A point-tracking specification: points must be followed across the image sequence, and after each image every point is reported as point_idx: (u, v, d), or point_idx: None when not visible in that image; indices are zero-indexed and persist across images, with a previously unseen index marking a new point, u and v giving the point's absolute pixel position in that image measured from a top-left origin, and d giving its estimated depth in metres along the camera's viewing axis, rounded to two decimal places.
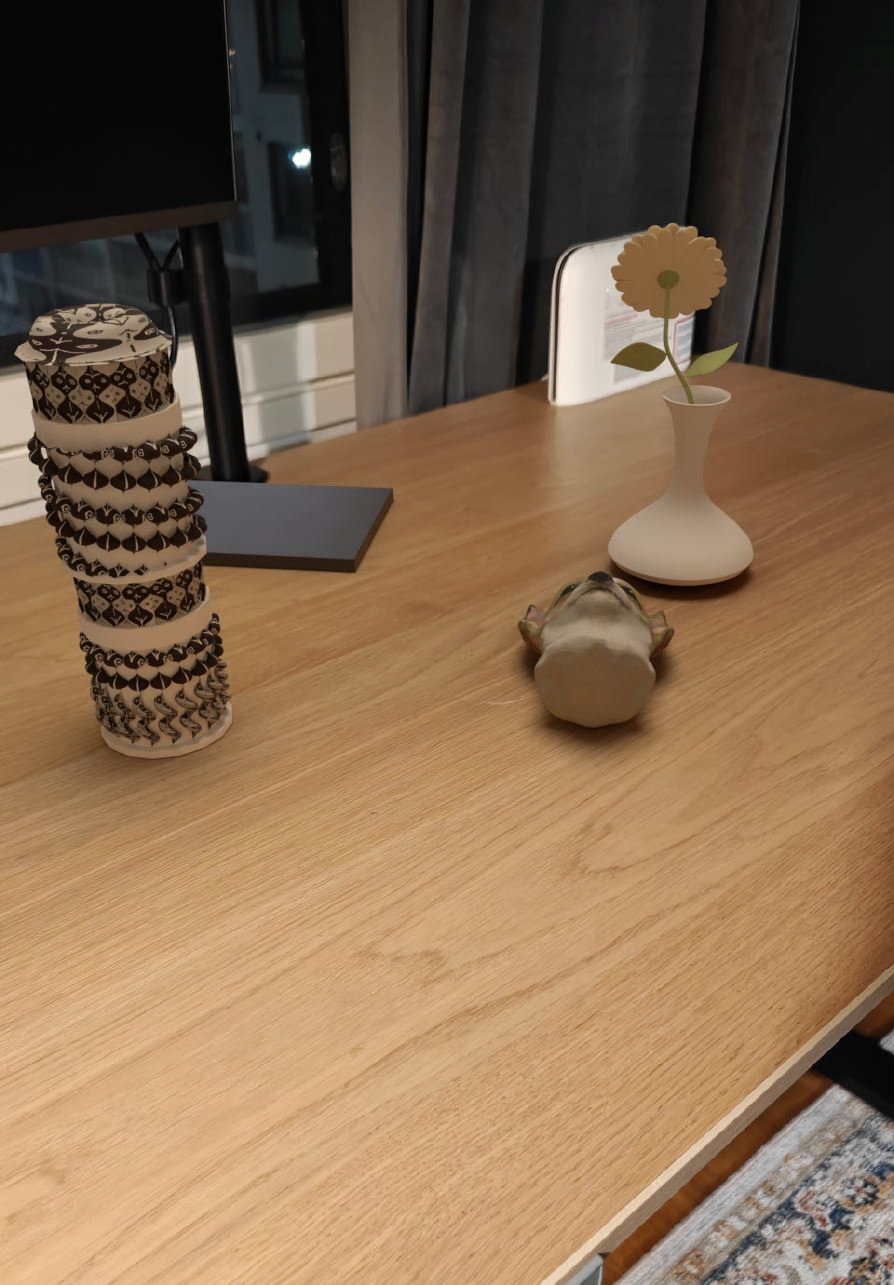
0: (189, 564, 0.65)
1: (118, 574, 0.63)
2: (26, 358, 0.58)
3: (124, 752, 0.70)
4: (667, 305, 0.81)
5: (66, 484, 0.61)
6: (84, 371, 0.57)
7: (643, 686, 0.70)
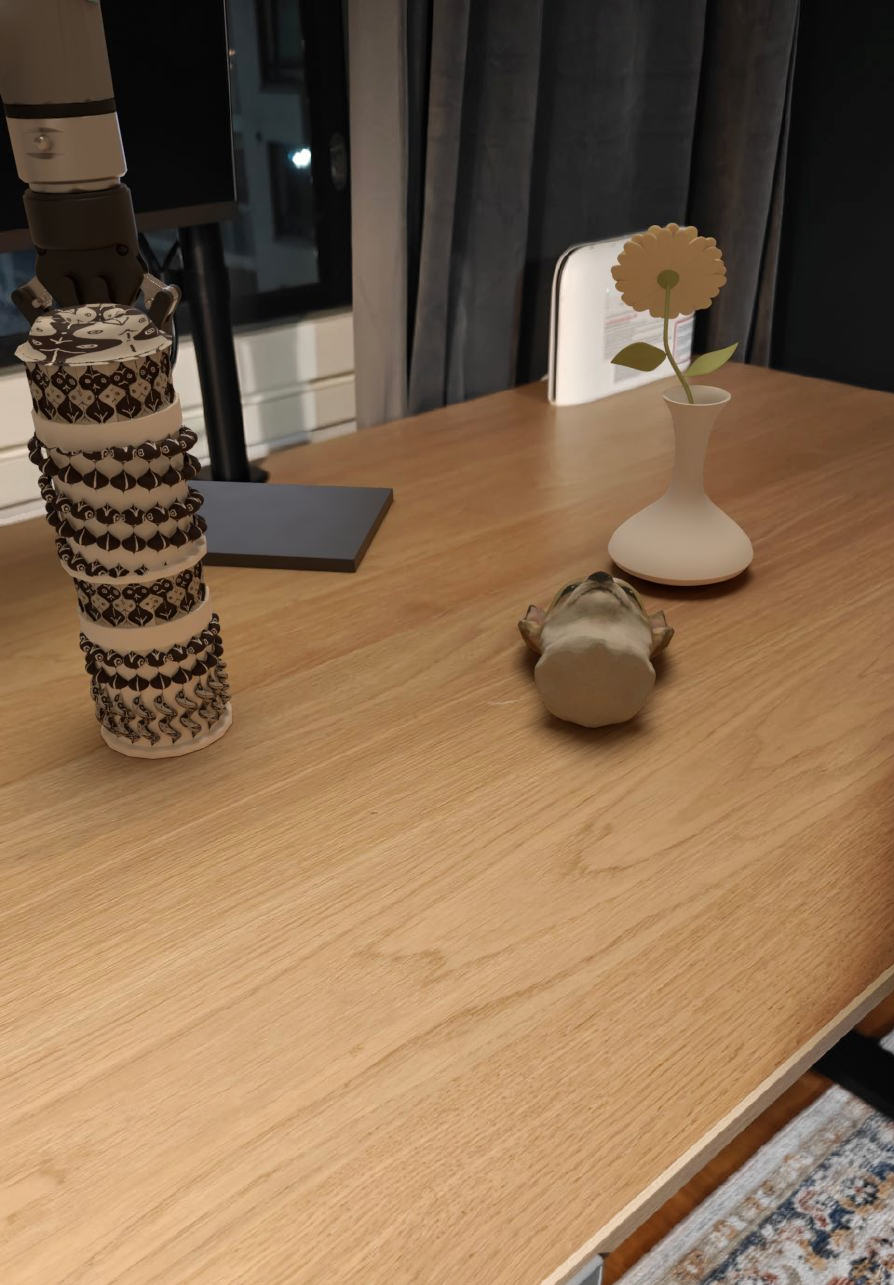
0: (189, 564, 0.65)
1: (118, 574, 0.63)
2: (26, 358, 0.58)
3: (124, 752, 0.70)
4: (667, 305, 0.81)
5: (66, 484, 0.61)
6: (84, 371, 0.57)
7: (643, 686, 0.70)
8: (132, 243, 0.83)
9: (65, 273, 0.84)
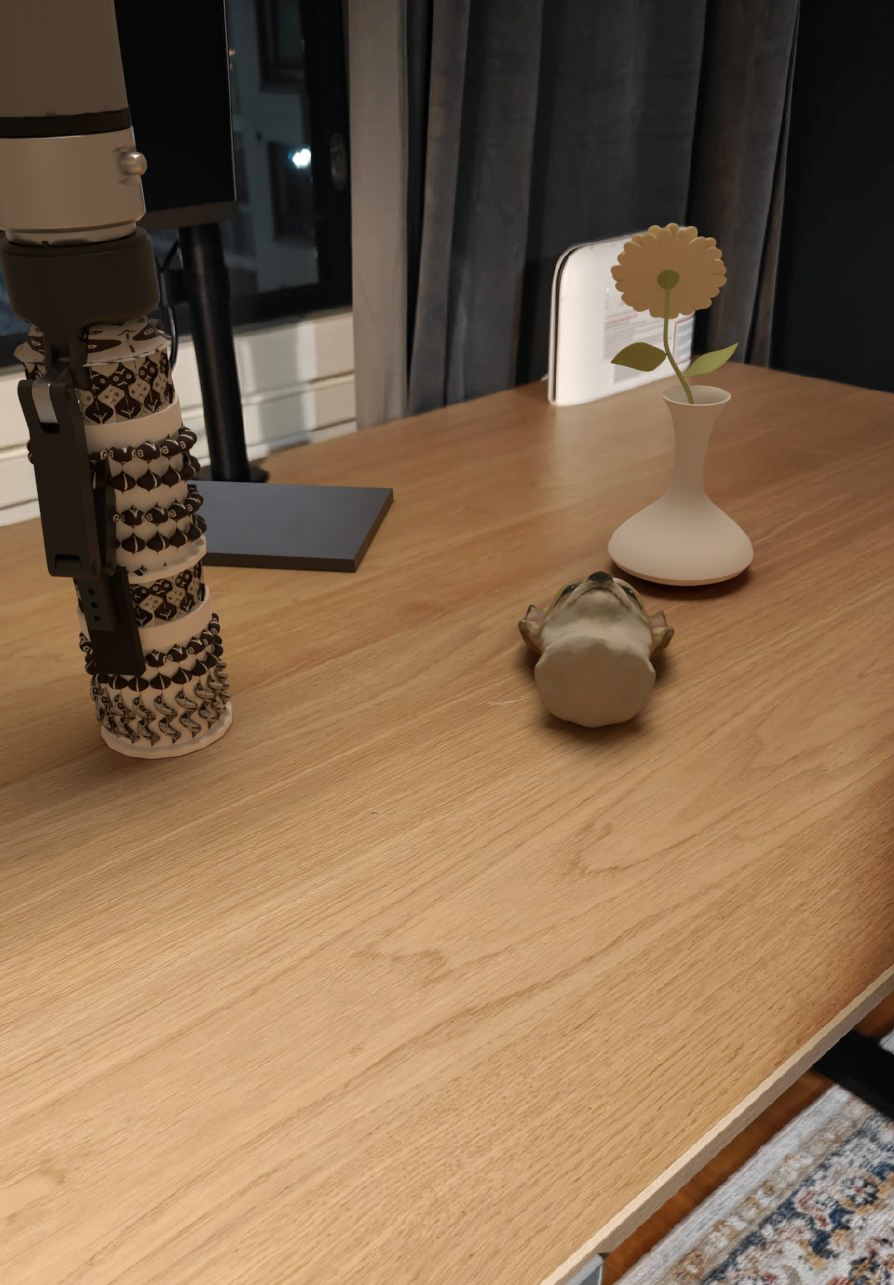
0: (189, 564, 0.65)
1: None
2: (25, 359, 0.58)
3: (124, 752, 0.70)
4: (667, 305, 0.81)
5: None
6: None
7: (643, 686, 0.70)
8: None
9: None
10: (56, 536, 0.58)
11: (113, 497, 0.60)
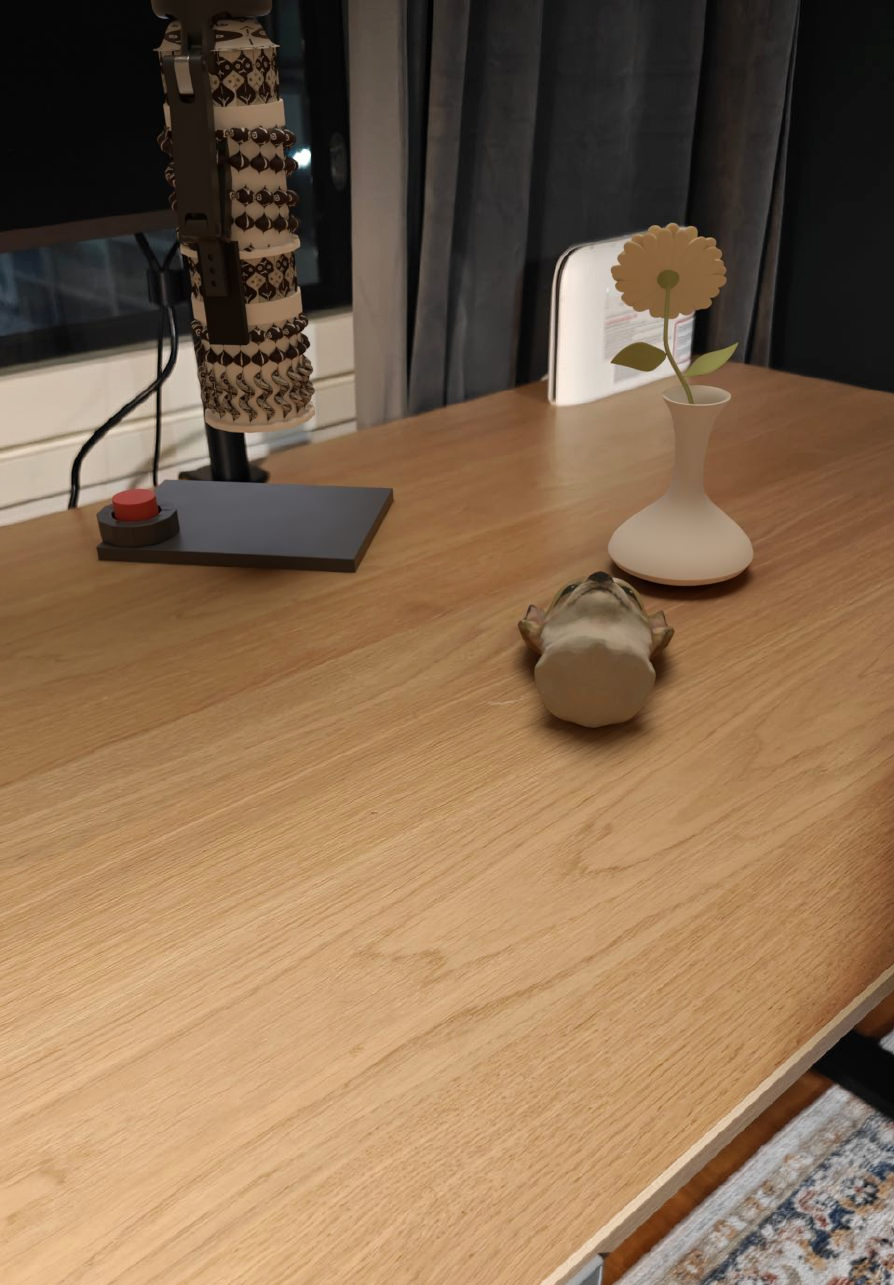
0: (287, 249, 0.78)
1: None
2: (164, 50, 0.71)
3: (226, 428, 0.83)
4: (667, 305, 0.81)
5: None
6: None
7: (643, 686, 0.70)
8: None
9: None
10: (187, 197, 0.71)
11: (230, 175, 0.74)
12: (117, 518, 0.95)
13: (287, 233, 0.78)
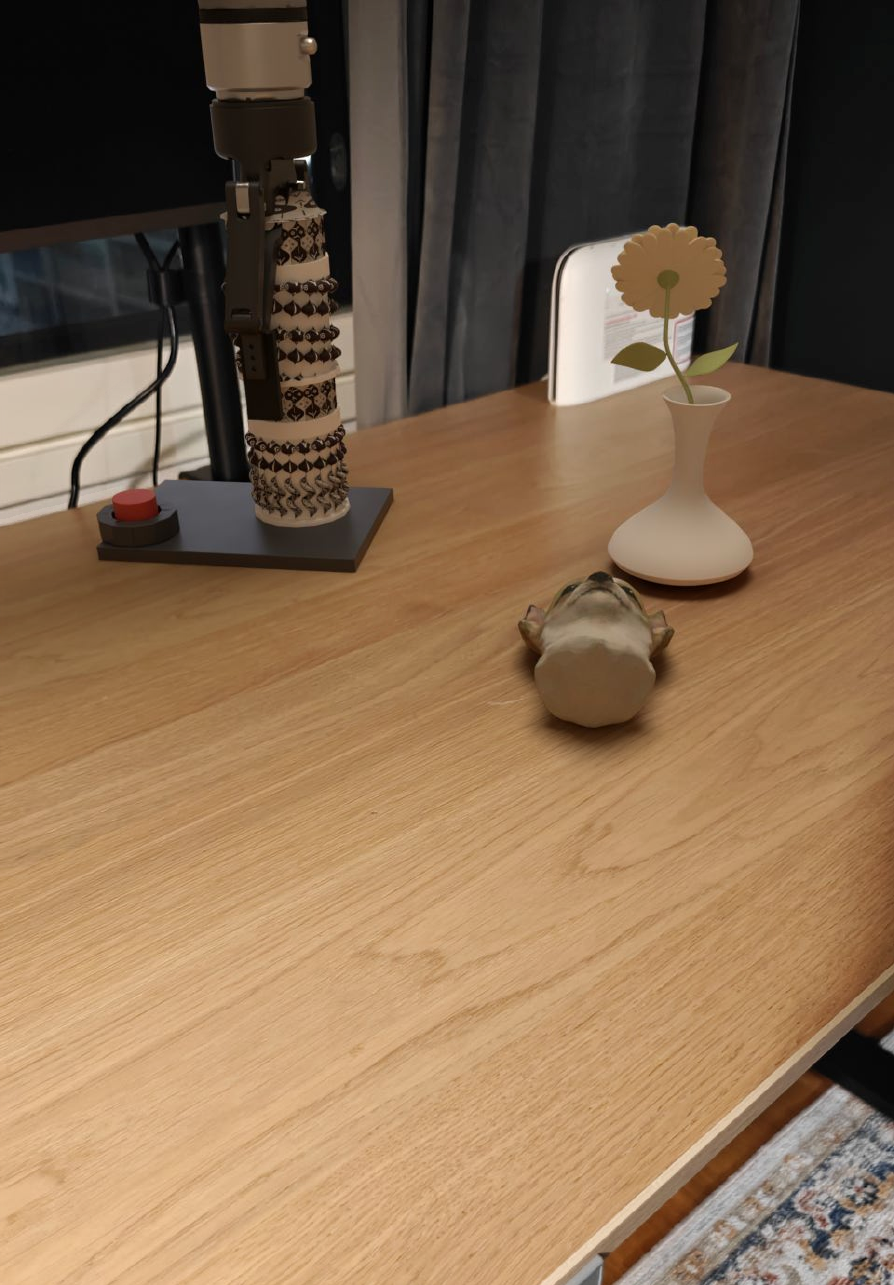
0: (330, 376, 0.91)
1: (283, 379, 0.89)
2: None
3: (275, 523, 0.97)
4: (667, 305, 0.81)
5: None
6: (272, 227, 0.83)
7: (643, 686, 0.70)
8: None
9: (278, 187, 0.84)
10: (235, 295, 0.81)
11: (273, 281, 0.84)
12: (117, 518, 0.95)
13: (329, 362, 0.92)
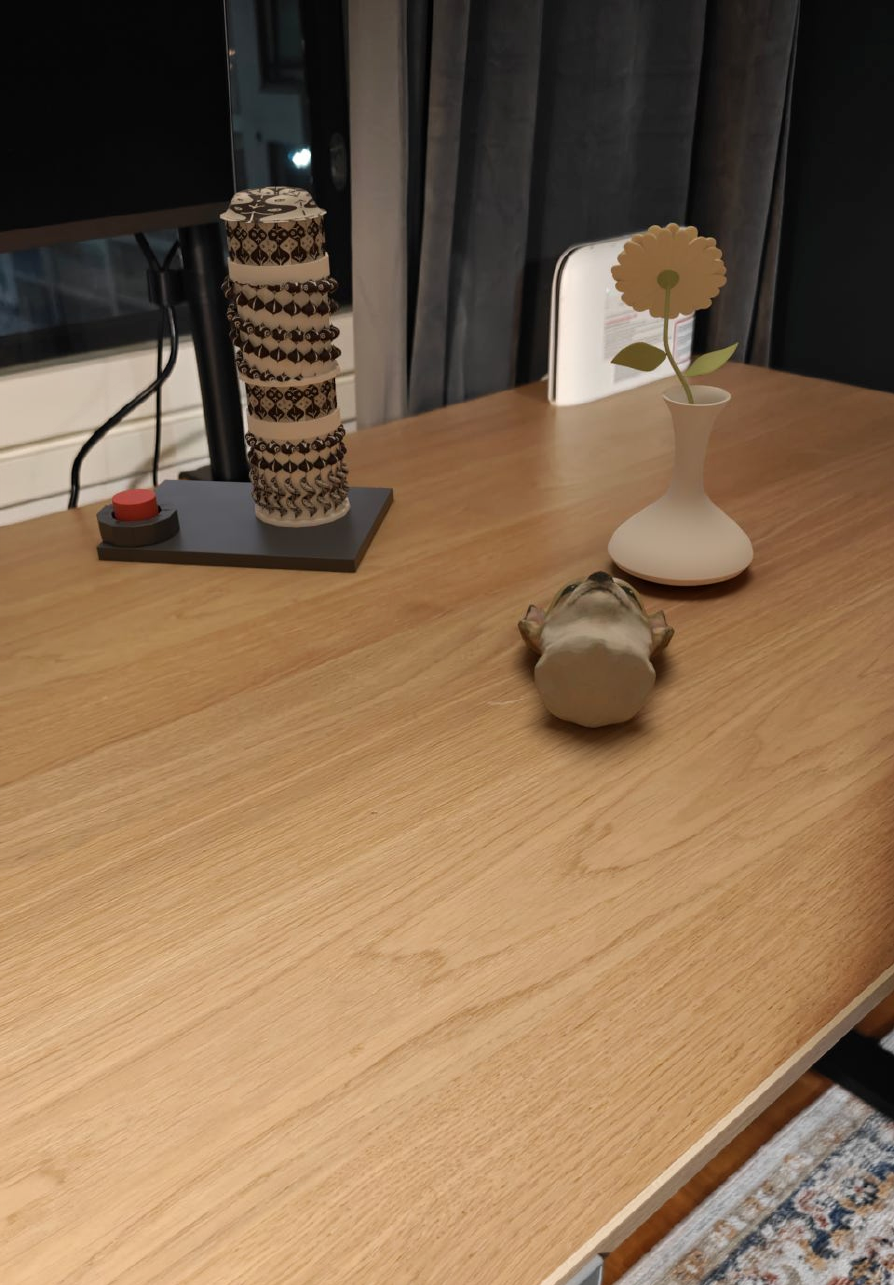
0: (330, 376, 0.91)
1: (283, 379, 0.89)
2: (230, 219, 0.84)
3: (275, 523, 0.97)
4: (667, 305, 0.81)
5: (250, 313, 0.88)
6: (272, 227, 0.83)
7: (643, 686, 0.70)
8: None
9: None
10: None
11: None
12: (117, 518, 0.95)
13: (329, 362, 0.92)
